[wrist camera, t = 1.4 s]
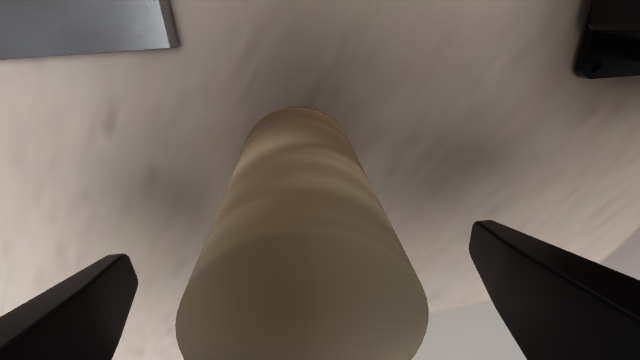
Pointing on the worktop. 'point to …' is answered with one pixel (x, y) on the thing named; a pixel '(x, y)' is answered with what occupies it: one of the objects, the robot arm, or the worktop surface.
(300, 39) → the worktop surface
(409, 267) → the piston
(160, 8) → the ring collar
